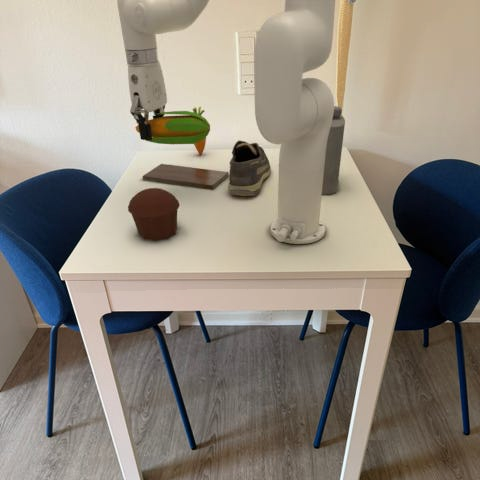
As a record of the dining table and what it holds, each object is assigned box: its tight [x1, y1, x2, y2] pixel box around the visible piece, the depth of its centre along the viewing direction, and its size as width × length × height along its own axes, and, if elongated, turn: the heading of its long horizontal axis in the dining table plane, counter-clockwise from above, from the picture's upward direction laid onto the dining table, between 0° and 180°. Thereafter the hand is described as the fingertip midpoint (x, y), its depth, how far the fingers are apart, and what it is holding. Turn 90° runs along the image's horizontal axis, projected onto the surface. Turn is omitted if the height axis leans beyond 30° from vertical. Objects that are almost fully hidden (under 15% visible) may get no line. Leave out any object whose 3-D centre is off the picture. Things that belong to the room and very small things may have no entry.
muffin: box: [127, 187, 181, 242], centre depth 101 cm, size 12×11×10 cm
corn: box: [134, 110, 211, 145], centre depth 113 cm, size 7×8×20 cm
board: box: [142, 163, 229, 190], centre depth 131 cm, size 11×23×1 cm, turn 67°
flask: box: [322, 105, 346, 195], centre depth 118 cm, size 15×6×20 cm, turn 176°
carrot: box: [192, 106, 207, 156], centre depth 142 cm, size 5×5×15 cm
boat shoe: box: [227, 140, 272, 197], centre depth 125 cm, size 11×29×11 cm, turn 174°
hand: (153, 135), depth 116 cm, fingers closed on corn, 6 cm apart
